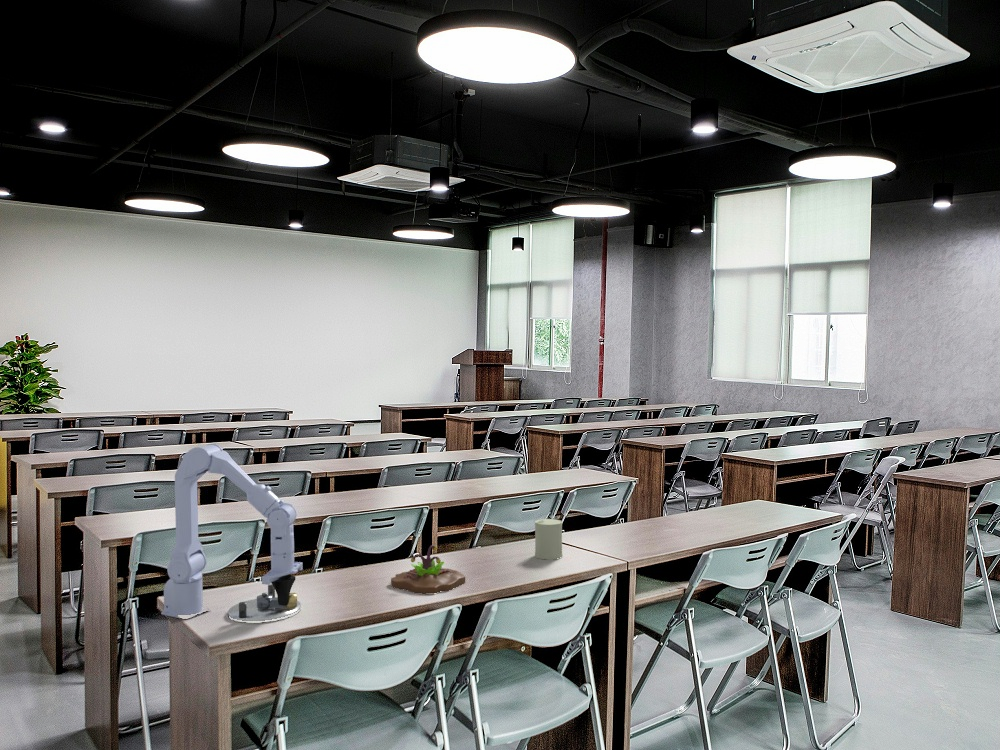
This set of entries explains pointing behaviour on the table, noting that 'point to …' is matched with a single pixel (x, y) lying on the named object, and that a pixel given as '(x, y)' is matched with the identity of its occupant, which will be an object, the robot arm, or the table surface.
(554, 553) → the can
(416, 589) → the plant
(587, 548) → the table surface
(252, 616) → the crank base
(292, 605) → the crank
